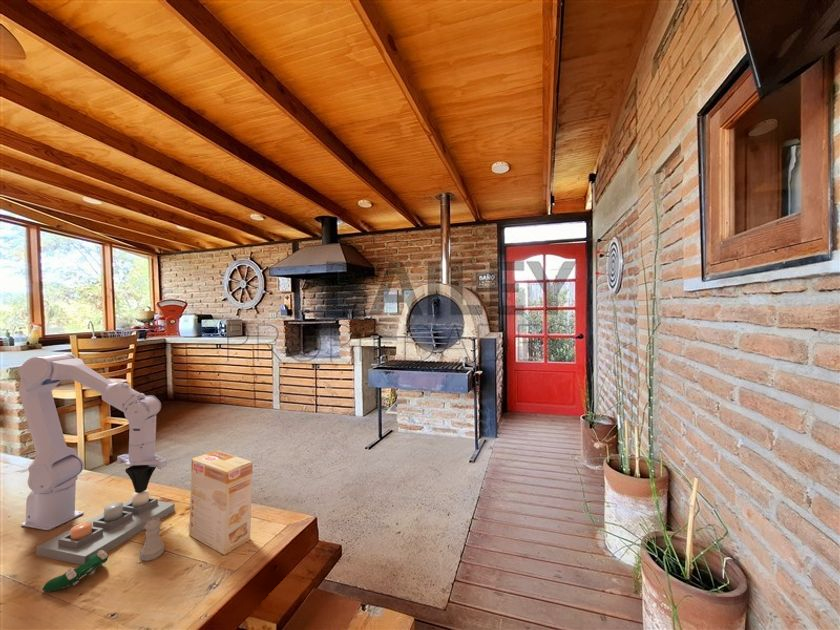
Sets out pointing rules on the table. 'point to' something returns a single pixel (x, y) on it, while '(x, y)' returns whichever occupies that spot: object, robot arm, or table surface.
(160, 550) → the rook chess piece
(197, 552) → the table surface
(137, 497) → the button ivory
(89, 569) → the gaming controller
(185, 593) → the table surface
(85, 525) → the button terracotta
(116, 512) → the button light grey
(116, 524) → the panel
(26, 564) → the table surface
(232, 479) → the coffeecake box
